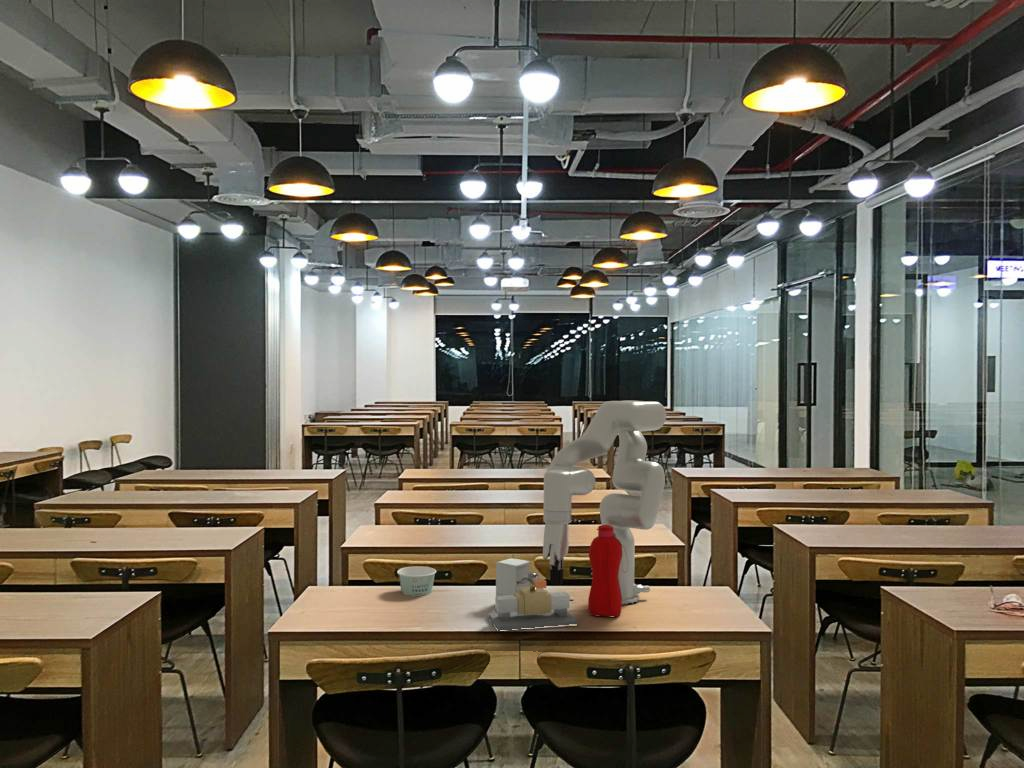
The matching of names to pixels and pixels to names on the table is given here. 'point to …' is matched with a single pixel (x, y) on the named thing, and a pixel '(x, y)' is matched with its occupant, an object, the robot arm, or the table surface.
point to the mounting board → (531, 620)
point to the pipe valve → (532, 602)
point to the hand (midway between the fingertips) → (556, 583)
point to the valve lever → (536, 580)
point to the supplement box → (511, 576)
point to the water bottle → (605, 573)
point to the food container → (416, 580)
